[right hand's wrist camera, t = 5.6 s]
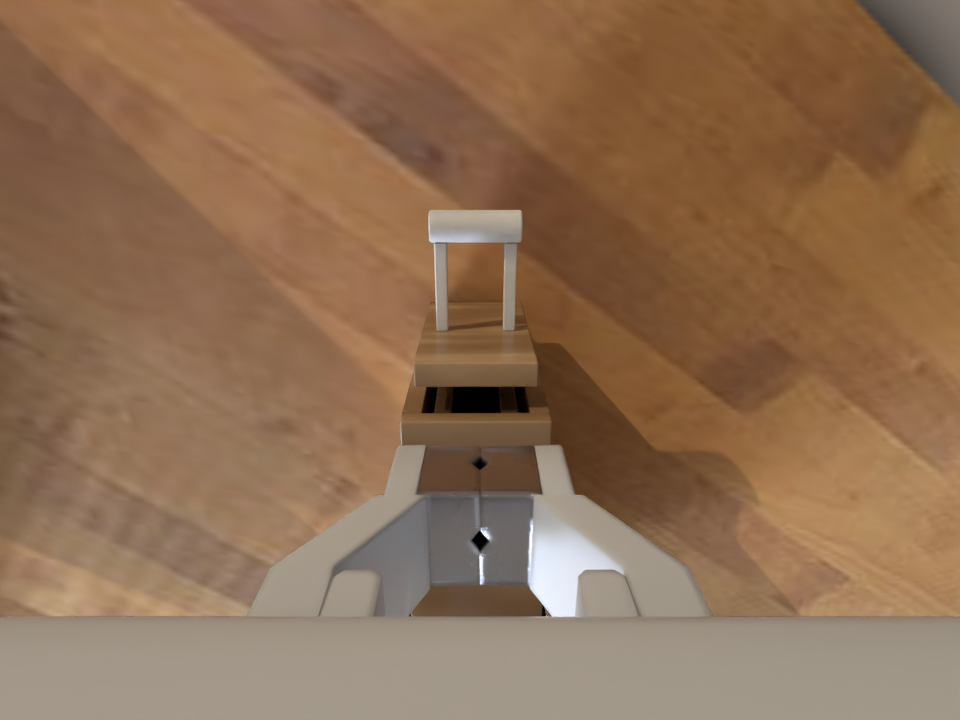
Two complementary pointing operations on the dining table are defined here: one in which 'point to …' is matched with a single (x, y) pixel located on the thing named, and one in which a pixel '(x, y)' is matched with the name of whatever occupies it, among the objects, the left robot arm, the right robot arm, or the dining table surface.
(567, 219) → the dining table surface
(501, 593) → the wooden box sleeve
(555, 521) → the right robot arm
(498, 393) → the drawer
